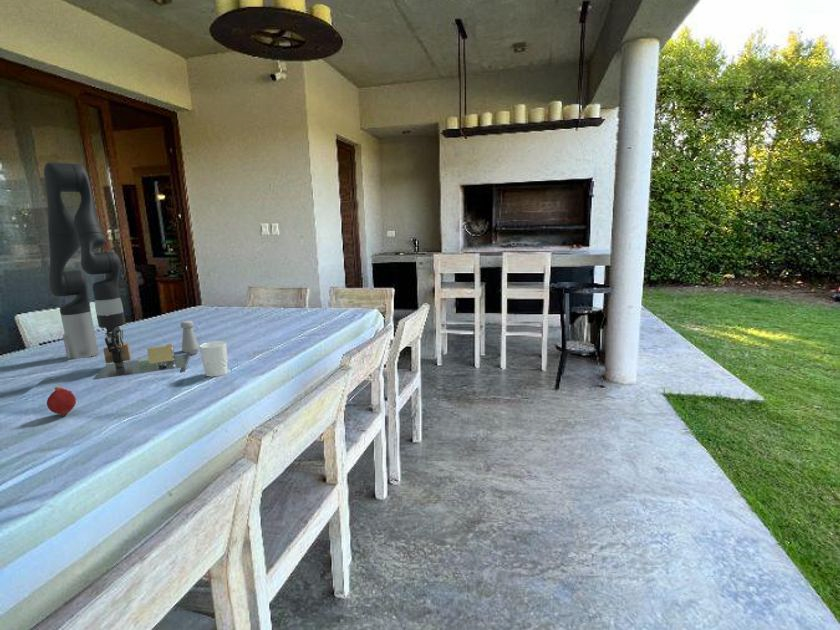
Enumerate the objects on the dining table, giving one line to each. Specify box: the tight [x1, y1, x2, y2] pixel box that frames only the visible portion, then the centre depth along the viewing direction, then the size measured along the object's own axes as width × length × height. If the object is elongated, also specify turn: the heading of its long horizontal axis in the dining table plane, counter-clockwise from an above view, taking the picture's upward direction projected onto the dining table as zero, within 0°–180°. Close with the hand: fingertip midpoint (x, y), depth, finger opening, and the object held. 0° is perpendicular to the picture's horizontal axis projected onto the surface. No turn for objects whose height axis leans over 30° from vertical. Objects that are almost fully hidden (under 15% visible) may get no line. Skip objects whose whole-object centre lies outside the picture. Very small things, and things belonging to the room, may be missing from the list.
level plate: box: [91, 346, 191, 380], centre depth 152 cm, size 26×18×6 cm
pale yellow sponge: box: [146, 343, 174, 367], centre depth 149 cm, size 7×2×7 cm, turn 112°
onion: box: [46, 386, 77, 417], centre depth 115 cm, size 6×6×8 cm
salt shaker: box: [180, 320, 200, 356], centre depth 169 cm, size 6×6×13 cm
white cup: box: [199, 340, 229, 378], centre depth 145 cm, size 8×8×10 cm
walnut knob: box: [102, 343, 132, 367], centre depth 151 cm, size 7×2×7 cm, turn 112°
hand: (118, 361), depth 151 cm, fingers closed on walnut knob, 2 cm apart
